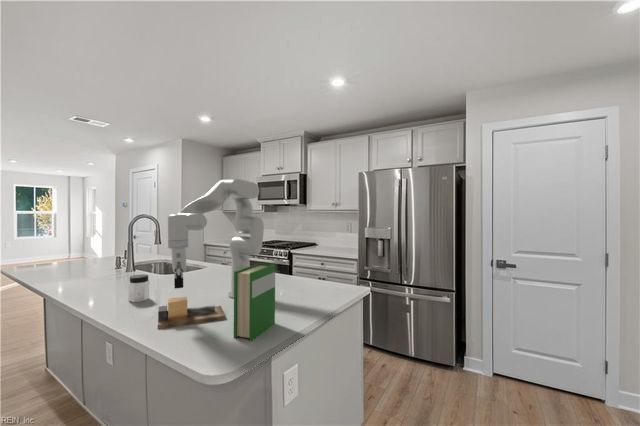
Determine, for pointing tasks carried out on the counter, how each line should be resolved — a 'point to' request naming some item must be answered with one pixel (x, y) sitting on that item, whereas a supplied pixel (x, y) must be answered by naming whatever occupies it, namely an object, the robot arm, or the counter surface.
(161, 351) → the counter surface
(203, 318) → the rail board
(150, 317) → the counter surface
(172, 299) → the wooden block
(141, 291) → the jar
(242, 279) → the hardback book
